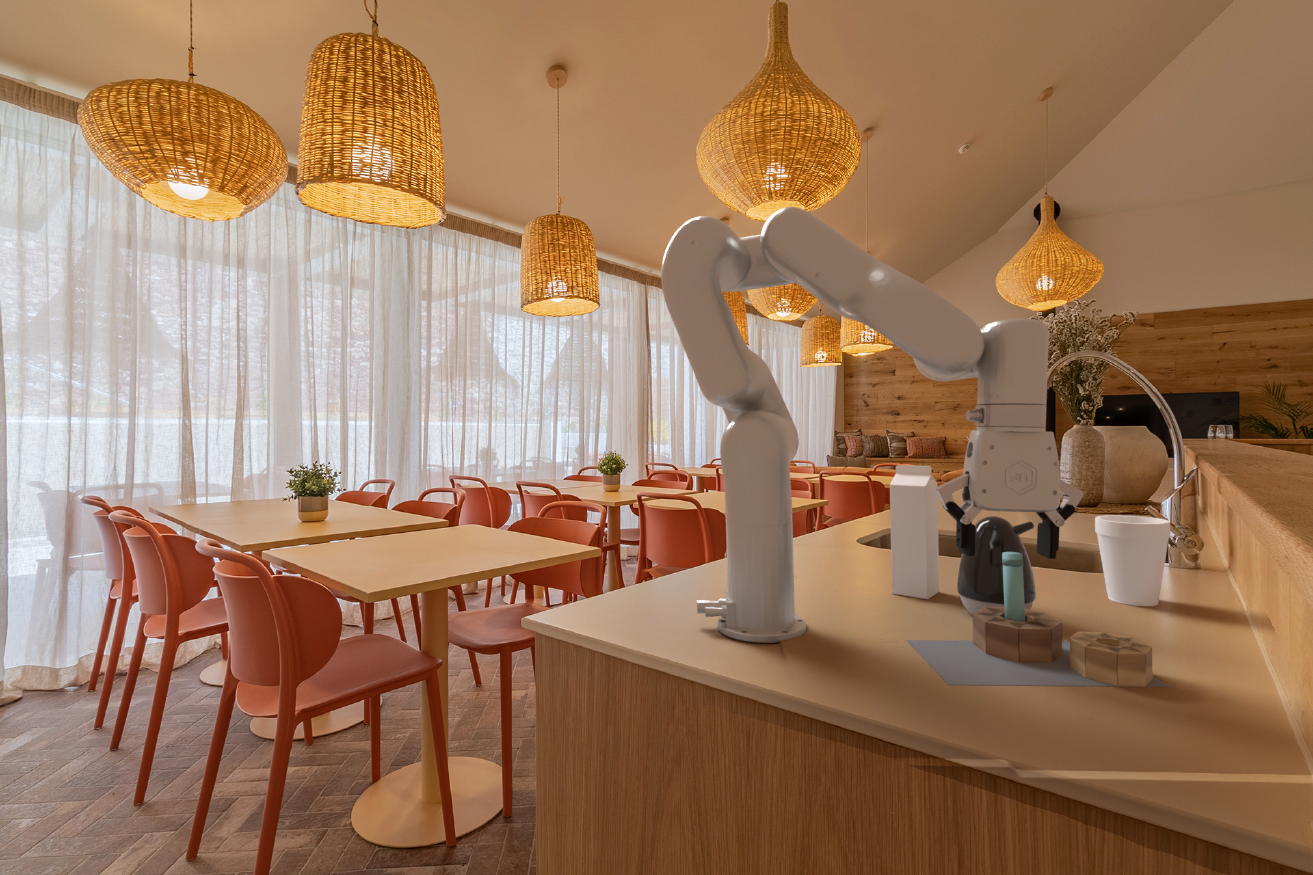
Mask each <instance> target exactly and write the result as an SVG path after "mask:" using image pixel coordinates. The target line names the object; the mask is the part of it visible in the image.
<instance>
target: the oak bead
mask: <svg viewBox="0 0 1313 875" xmlns="http://www.w3.org/2000/svg"><path fill="white" fill-rule="evenodd" d="M1069 641H1070V668H1071V669H1073V670H1074V671H1076V672H1077V673H1079V674H1080V675H1082V676H1083V677H1085V678H1087V679H1091V680H1095V681H1099V682H1103V683H1107V684H1111V685H1115V686H1114V687H1117V686H1147V685H1148V684H1149V682H1150V681H1151V680H1152V679H1153V676H1154V675H1153V646H1151V645H1149V644H1147V643H1145V642H1144V641H1141V640H1139V639H1137V638H1135V637H1132V636H1126V635H1121V634H1116V633H1112V632H1107V631H1106V632H1105V631H1076V633H1074V634H1073V635H1071V636H1070V637H1069Z"/></svg>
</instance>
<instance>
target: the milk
mask: <svg viewBox="0 0 1313 875" xmlns="http://www.w3.org/2000/svg"><path fill="white" fill-rule="evenodd" d="M936 487H938V482H937V480H936V479H935V478H934V476H933V475H932V467H931V465H914V464H913V465H912V464H911V465H910V464H909V465H908V464H907V465H906V464H904V465H903V464H897V465H896V466H895V474H894V476H893V478H892V480H891V482H890V483H889V504H890V505H889V506H890V509H889V510H890V511H889V512H890V513H889V514H890V553H891V554H890V556H891V558H890V559H891V560H890V562H891V566H890V567H891V594H892V595H897V596H898V595H899V596H904V597H911V598H916V599H923V600H929V599H930V598H933V597H934V596H935V595H936V594H938V593H940V562H939V561H940V560H939V557H940V556H939V555H940V552H939V510H938V509H939V506H938V505H939V504H938V501H939V500H938V499H939V497H938V495H937V493H936Z"/></svg>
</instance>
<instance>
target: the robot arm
mask: <svg viewBox="0 0 1313 875" xmlns="http://www.w3.org/2000/svg"><path fill="white" fill-rule="evenodd" d="M662 258H663V259H662V263H661V271H660V272H661V273H660V274H661V275H660V276H661V279H660V280H661V281H660V282H661V288H662V293H663V294H662V295H663V297H664V300H665V305H666V308H667V310H668V313H669V316H670V318H671V320H672V322H673V324H674V327H675V329H676V332H677V334H678V337H679V339H680V343H681V345H682V347H683V349H684V352H685V354H686V356H687V359H688V362H689V364H690V367H691V368H692V372H693V374H694V376H695V379H696V382H697V385H698V387H699V389H700V391H701V393H702V395H703V396H704V397H705V399H706V400H707V401H708V402H710V403H711V404H712V405H714V406H717V407H720V408H722V410H723V412H724V414H725V417H726V419H727V422H728V424H727V425H726V427H725V429H724V431H723V434H722V436H721V440H720V446H719V447H720V451H719V454H720V464H721V471H722V472H721V474H722V481H723V489H724V502H725V503H724V504H725V506H724V507H725V509H724V510H725V531H726V572H727V573H726V577H727V578H726V579H727V583H726V584H727V592H725V593H724V596H725V597H719V598H718V600H709V599H697V600H696V602H697V604H696V606H697V607H696V608H697V610H696V611H697V612H696V613H697V614H705V615H704V616H705V618H713V617H719V618H718V619H717V628H718V630H719V632H720V633H721V634H723V635H724V636H727V637H729V638H732V639H734V640H737V641H741V642H743V641H744V642H749V643H761V644H763V643H764V644H767V643H768V644H769V643H770V644H772V643H781V642H782V641H784V640H785V641H786V640H790V639H794V638H797V637H799V636H802V635H803V634H804V633H805V632H806V631H807V622H806V620H805V619H804V618H803V617H802V616H801V615H798V614H796V613H795V612H796V611H795V610H796V609H795V608H796V607H795V606H796V605H795V576H794V575H795V574H794V571H795V569H794V568H795V567H794V566H795V564H794V530H793V528H794V525H793V524H794V522H793V498H792V497H793V496H792V484H791V473H790V470H791V469H790V463H791V462H792V461H793V460H794V459H795V457H796V455H797V453H798V451H799V450H798V449H799V445H800V444H799V442H800V441H799V440H800V439H799V433H798V430H797V427H796V425H795V422H794V420H793V418H792V416H791V414H790V412H789V409H788V407H787V405H786V402H785V400H784V398H783V396H782V394H781V392H780V389H779V387H778V385H777V382H776V379H775V378H774V375H773V374H772V372H771V369H770V368H769V366H768V364H767V363H766V362H765V360H764V359H763V358H762V357H761V356H760V355H758V354H757V353H755V352H754V351H753V350H751V349H750V348H749V347H748V345H747V343H746V340H744V337H743V336H742V334H741V332H740V329H739V326H738V325H737V323H736V320H735V317H734V315H733V312H732V310H731V308H730V306H729V304H728V302H727V300H726V299H725V296H724V294H723V293H734V292H741V291H743V292H744V291H751V290H759V289H765V288H772V287H773V288H774V287H780V286H785V285H792V284H797V285H798V286H800V287H801V288H803V289H804V290H806V292H808V294H811V295H812V296H813V297H814V298H816V299H817V300H819V301H820V302H821V303H823V304H824V305H825V306H827V307H828V308H829V309H830V310H832V311H834V312H835V313H836V314H838V315H839V316H841V317H843V318H845V319H848V320H850V321H851V320H852V321H856V322H857V323H861V324H863V325H865V326H867V327H869V328H870V329H872V330H873V331H875V332H877V333H879V334H880V335H881V336H882V337H884V338H886V339H888V340H889V341H890V342H891V343H892V344H894V345H896V346H897V347H898V348H900V349H901V350H903V352H905V353H907V354H908V355H909V356H910V357H912V358H913V363H914V364H915V366H916V367H915V368H916V369H917V370H918V371H919V372H920V374H922V375H923V376H924V377H926V378H927V379H930V380H933V381H936V382H937V381H938V382H952V381H958V380H966V379H974V378H977V395H976V396H977V398H976V400H977V402H976V405H975V407H974V408H973V409H972V410H971V409H970V410H969V409H967V411H966V412H965V420H966V421H969V422H971V421H972V422H974V425H975V427H976V429H975V430H974V429H973V430H971V431H970V434H969V437H968V441H967V442H968V443H967V446H966V451H965V456H964V463H963V470H962V475H960V476H957V477H955V478H953V479H951V480H949V481H947V482H945V483H942V484H940V485H937V487H936V493H937V496H938V499H939V500H940V502H941V504H942V508H943V509H944V510H945V511H946V512H947V513H948V514H949V515H950V516H951V517H952V519H953V521H956V522H955V523H956V526H955V528H956V529H955V530H956V531H955V546H956V547H957V548H958V551H959V552H960V553H961V554H962V553H963V554H965V555H967V556H973V555H975V532H976V527H975V525H976V524H973V522H972V521H973V520H974V519H975V518H976V517H978V515H979V514H980V513H982V512H981V511H983V510H984V511H988V512H989V511H990V512H1007V513H1008V512H1010V513H1011V512H1015V513H1017V512H1018V513H1036V514H1037V515H1038V516H1039V518H1040V519H1041V520H1042V522H1038V524H1037V531H1036V532H1037V533H1036V537H1037V538H1036V539H1037V540H1036V553H1037V554H1038V555H1040V556H1042V557H1045V558H1046V559H1050V560H1055V559H1056V558H1057V551H1059V548H1060V528H1061V527H1063V526H1064V525H1065V523H1066V521H1067V520H1068V519H1069V518H1070V517H1071V516H1072V515H1074V514H1075V512H1076V507H1078V506H1079V504H1080V502H1081V500H1082V499H1083V497H1084V492H1083V491H1082V490H1081V489H1078V488H1077V487H1076V486H1072V485H1071V484H1069V483H1067V482H1065V481H1064V480H1061V478H1060V477H1061V476H1060V475H1061V473H1060V464H1059V463H1060V462H1059V461H1060V460H1059V455H1058V449H1057V444H1056V439H1055V434H1054V432H1053V431H1046V427H1047V426H1046V425H1047V422H1046V421H1047V400H1048V396H1047V395H1048V366H1049V365H1048V364H1049V338H1050V337H1049V328H1048V326H1047V324H1046V323H1045V322H1044V321H1042V320H1040V319H1034V318H1011V319H1008V318H1007V319H1001V320H1000V319H999V320H996V321H995V320H994V321H992V322H989V323H986V324H984V326H982V327H980V326H979V325H978V324H977V322H976V321H975V320H974V319H973V318H972V317H971V316H970V315H968V314H966V313H965V312H964V311H962V310H961V309H960V308H958V306H955V305H954V304H953V303H951V302H949V301H948V300H947V299H945V298H944V297H942V296H941V295H939V294H938V293H936V292H935V291H934V290H932V289H931V288H929V287H928V286H926V285H924V284H923V283H921V282H919V281H918V280H916V279H914V278H912V277H911V276H909V275H907V274H904V273H903V272H901V271H899V270H897V269H896V268H894V267H893V266H891V265H889V264H886V263H885V262H882V261H880V260H879V259H878V258H876V257H875V256H873V255H872V254H870V253H868V251H866V250H864V249H863V248H861V247H860V246H858V245H857V244H855V243H854V242H852V241H851V240H850V239H848V238H847V237H845V236H844V234H843V235H842V234H841V233H839V232H838V231H837V230H836V229H834V228H833V227H831V226H830V225H828V224H827V222H824V221H823V220H821V219H819V218H818V217H817V216H815V215H814V214H813V213H811V212H809V211H807V210H805V209H802V208H800V207H796V206H786V207H782V208H780V209H778V210H777V211H775V212H773V213H772V214H771V215H770V216H769V217H768V218H767V220H766V221H765V223H764V224H763V227H762V228H761V233H760V234H756V235H749V236H743V237H739V236H738V234H737V233H736V232H735V231H734V230H733V229H732V228H731V227H730V226H729V225H728V224H727V223H725V222H724V221H722V220H721V219H718V218H715V217H714V216H705V215H700V216H696V217H693V218H690V219H688V220H687V221H685V222H684V223H683V224H682V225H681V226H679V228H678V229H677V230H676V231H675V232H674V234H673V236H672V237H671V238H670V240H669V242H668V245H667V246H666V249H665V252H664V255H663V257H662ZM959 490H961V496H962V498H961V499H962V501H963V503H961V505H960V506H959V505H958V504H957V503H956V502H955V500H954V498H953V494H954V493H956V492H957V491H959ZM1061 494H1062V496H1063V499H1062V502H1061Z"/></svg>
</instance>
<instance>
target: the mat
mask: <svg viewBox="0 0 1313 875" xmlns="http://www.w3.org/2000/svg"><path fill="white" fill-rule="evenodd" d="M906 642H907V643H908V644H909V645H910V647H912V648H913V649H914V650H915V651H916V653H917V654H919V655H920V657H921V658H922V659H923V660H924V661H925V662H926V663H927V664H928V665H929V666H930V667H931V668H932V669H933V671H935V672H936V674H938V676H939V677H940V678H941V679H942V680H943V681H944V682H945V683H946V685H948V686H993V687H994V686H999V687H1000V686H1001V687H1002V686H1006V687H1007V686H1008V687H1009V686H1011V687H1014V686H1016V687H1019V686H1020V687H1025V686H1026V687H1031V686H1032V687H1119V688H1121V687H1122V688H1123V687H1124V688H1125V687H1126V688H1127V687H1130V688H1131V687H1134V688H1135V687H1136V688H1137V687H1141V688H1142V687H1144V688H1145V687H1146V688H1149V687H1150V688H1155V687H1156V688H1171V687H1172V685H1170V684H1168V683H1166V682H1165V681H1162V680H1161V679H1159V678H1157V677H1155V676H1154V675H1152V676H1153V679H1152V680H1151V681H1150V682H1149V684H1148V685H1147V686H1115V685H1111V684H1107V683H1103V682H1099V681H1095V680H1091V679H1087V678H1085V677H1083V676H1082V675H1080V674H1079V673H1077V672H1076V671H1074V670H1073V669H1071V668H1070V640H1062V655H1061V656H1060V657H1059V658H1057V659H1056V660H1055V661H1054V662H1052V663H1027V662H1015V661H1011V660H1007V659H1003V658H999V657H995V656H991V655H987V654H985V653H984V652H983V651H982V650H980V649H979V648H978V647H977V646H975V645H974V644H973V639H971V640H959V639H956V640H954V639H953V640H951V639H950V640H949V639H947V640H946V639H945V640H943V639H942V640H932V639H931V640H925V639H921V640H917V639H913V640H911V639H910V640H909V639H908V640H906Z"/></svg>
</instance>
